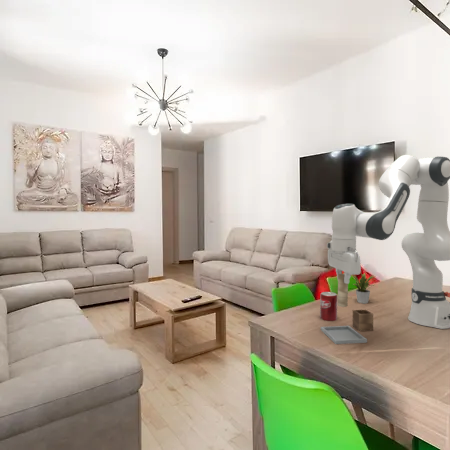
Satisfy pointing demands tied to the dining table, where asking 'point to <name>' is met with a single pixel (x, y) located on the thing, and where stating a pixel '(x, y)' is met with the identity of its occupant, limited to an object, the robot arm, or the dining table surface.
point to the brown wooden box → (362, 320)
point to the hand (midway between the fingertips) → (343, 281)
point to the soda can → (328, 306)
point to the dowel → (342, 291)
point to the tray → (343, 335)
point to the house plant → (363, 289)
